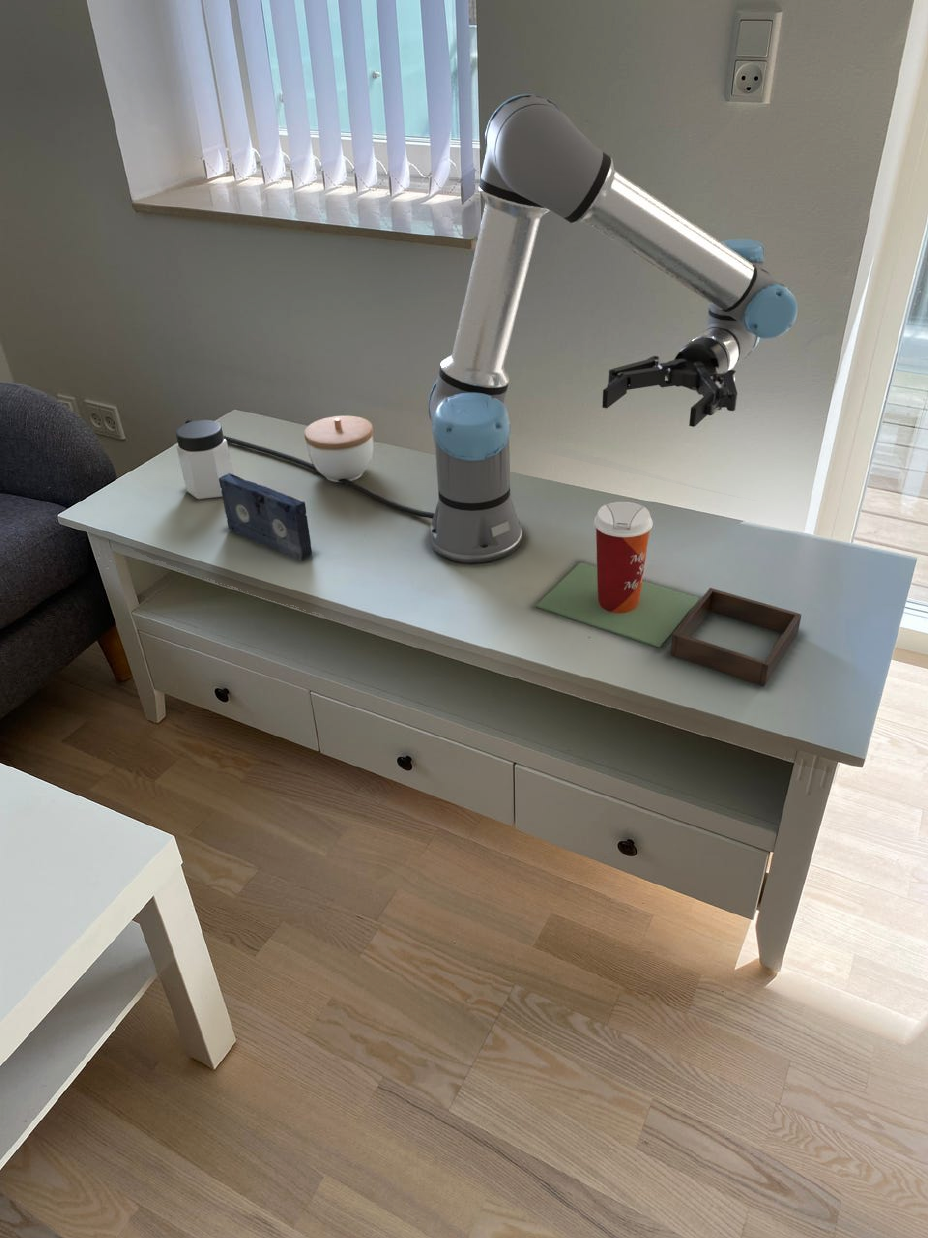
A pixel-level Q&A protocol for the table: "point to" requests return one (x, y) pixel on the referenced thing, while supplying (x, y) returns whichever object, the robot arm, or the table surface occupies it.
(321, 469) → the lidded bowl
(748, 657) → the crate
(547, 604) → the mat
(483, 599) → the table surface
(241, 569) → the table surface
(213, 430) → the jar
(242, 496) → the vhs cassette tape
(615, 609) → the coffee cup
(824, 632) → the table surface
